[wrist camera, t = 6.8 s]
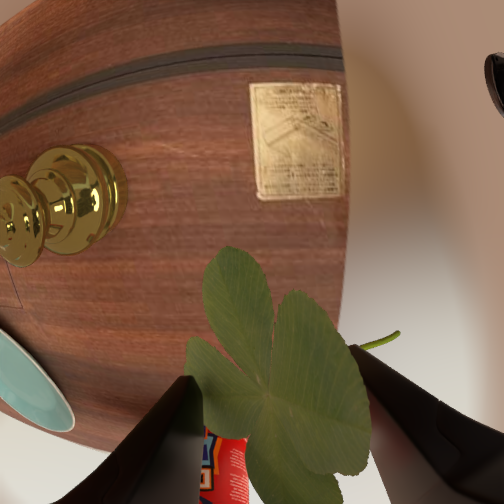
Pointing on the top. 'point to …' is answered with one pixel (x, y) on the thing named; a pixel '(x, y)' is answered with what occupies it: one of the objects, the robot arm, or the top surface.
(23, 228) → the brass weight
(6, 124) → the top surface
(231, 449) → the soda can
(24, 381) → the plate
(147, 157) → the top surface
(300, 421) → the green clover leaf
